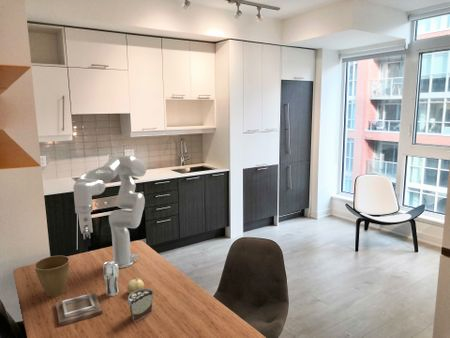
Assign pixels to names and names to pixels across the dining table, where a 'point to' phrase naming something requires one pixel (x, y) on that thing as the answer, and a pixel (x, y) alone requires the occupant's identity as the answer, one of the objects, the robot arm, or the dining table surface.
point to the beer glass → (111, 277)
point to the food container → (140, 303)
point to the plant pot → (53, 274)
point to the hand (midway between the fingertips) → (86, 243)
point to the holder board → (78, 308)
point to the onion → (135, 285)
